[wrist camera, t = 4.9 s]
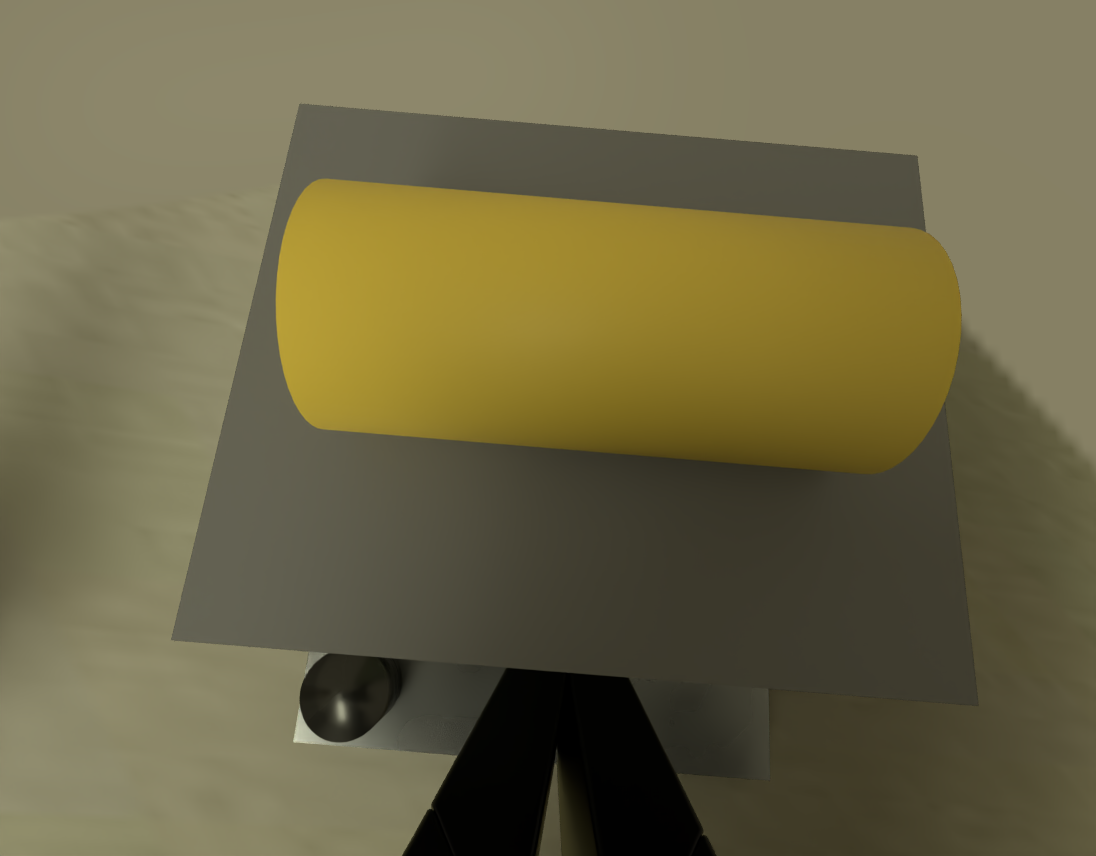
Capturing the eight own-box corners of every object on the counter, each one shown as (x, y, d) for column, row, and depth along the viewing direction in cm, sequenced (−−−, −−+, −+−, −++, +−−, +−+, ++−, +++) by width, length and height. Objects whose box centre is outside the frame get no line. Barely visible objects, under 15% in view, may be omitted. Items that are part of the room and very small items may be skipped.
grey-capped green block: (650, 613, 14) (1226, 775, 2) (439, 596, 14) (-33, 672, 2) (655, 446, 16) (1063, -7, 4) (459, 430, 16) (210, -78, 4)
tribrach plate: (748, 761, 16) (797, 804, 13) (315, 725, 16) (265, 761, 13) (745, 355, 19) (784, 316, 16) (381, 325, 19) (353, 280, 16)
